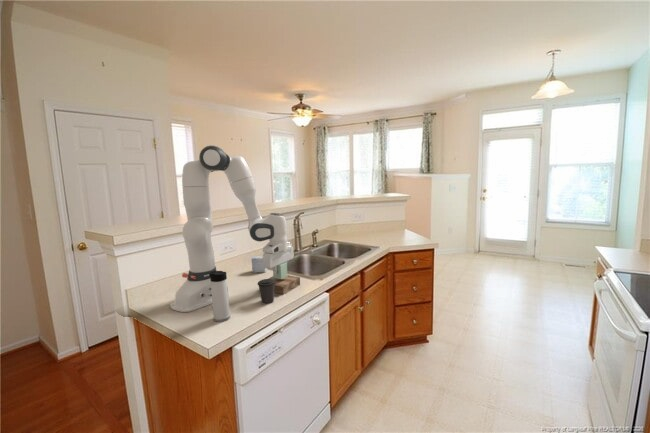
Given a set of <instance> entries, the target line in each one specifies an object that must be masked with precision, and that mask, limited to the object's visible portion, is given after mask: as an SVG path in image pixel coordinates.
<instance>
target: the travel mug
mask: <svg viewBox="0 0 650 433" xmlns="http://www.w3.org/2000/svg"><path fill="white" fill-rule="evenodd" d="M209 275H210V282H211V293H212V304H211V305H212V311H213V312H212V313H213V320H214V321H215V323H223V322H226V321H228V320H229V319H230V318H231V310H230V299H229V287H228V277H227V271H223V270H216V271H213V272H210V273H209Z"/></svg>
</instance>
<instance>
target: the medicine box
mask: <svg viewBox="0 0 650 433" xmlns="http://www.w3.org/2000/svg"><path fill="white" fill-rule="evenodd" d="M251 269H252V270H251V271H252V272H251V273H266V272H267V271H268V269H267V268H265V267H264V266H263V255H262V256H253V257H252V258H251Z"/></svg>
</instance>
